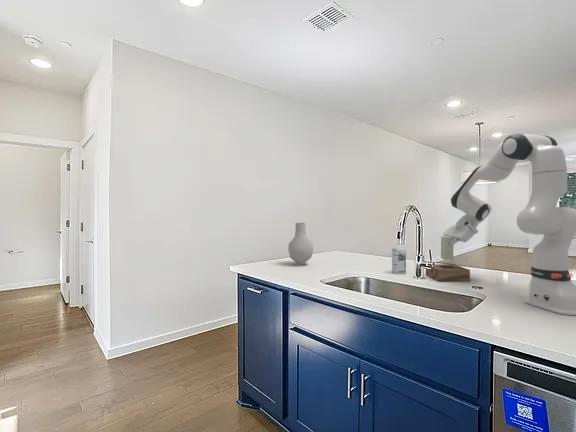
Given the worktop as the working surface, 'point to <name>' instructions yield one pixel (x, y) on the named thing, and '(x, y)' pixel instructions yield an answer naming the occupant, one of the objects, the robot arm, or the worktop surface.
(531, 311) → the worktop surface
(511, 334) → the worktop surface
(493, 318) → the worktop surface
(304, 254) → the vase
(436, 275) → the well block
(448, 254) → the peg
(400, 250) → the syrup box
